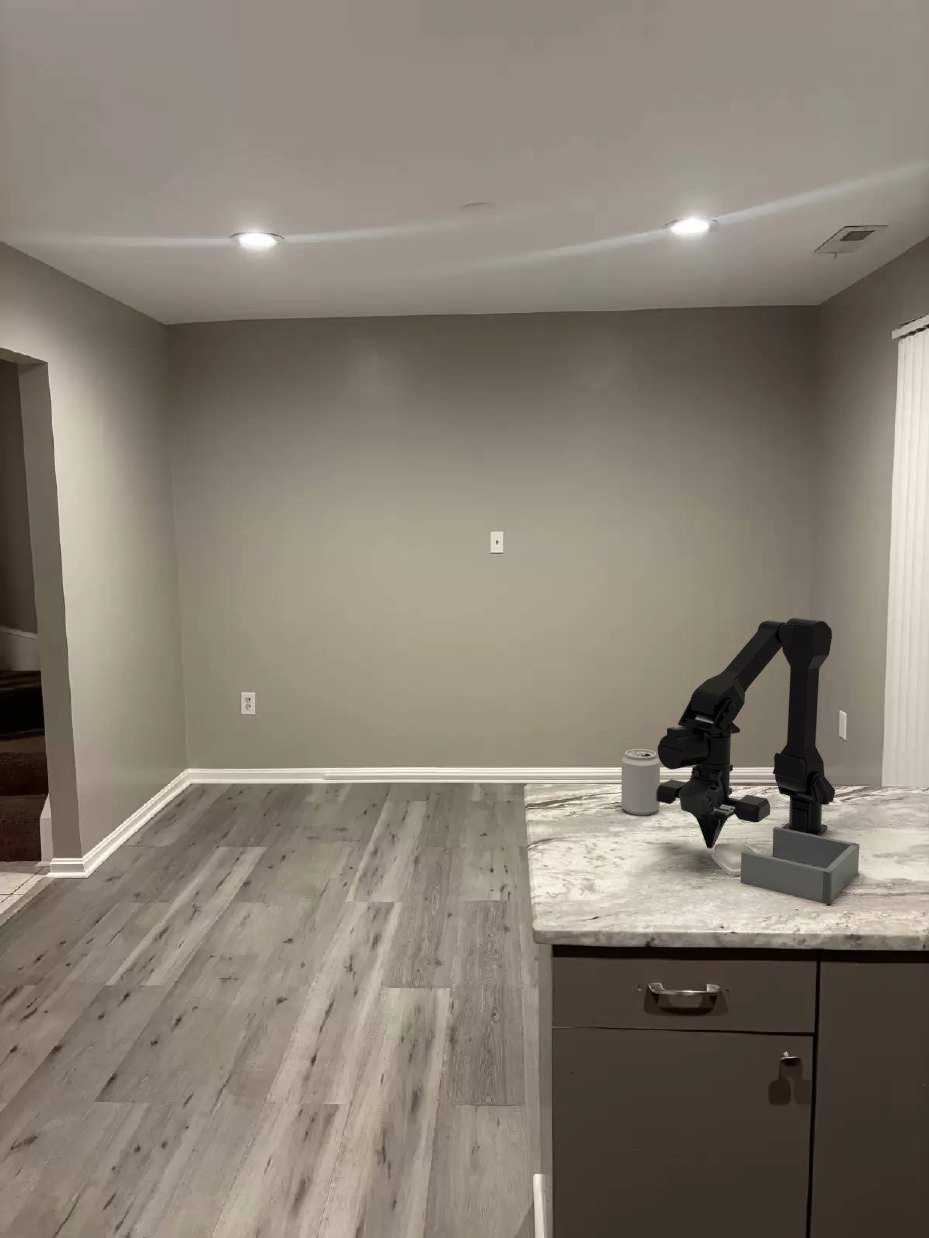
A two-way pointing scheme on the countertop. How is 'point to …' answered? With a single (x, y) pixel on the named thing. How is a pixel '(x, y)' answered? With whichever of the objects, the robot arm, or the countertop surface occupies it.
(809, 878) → the box
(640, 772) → the can
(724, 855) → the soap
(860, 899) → the countertop surface
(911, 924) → the countertop surface
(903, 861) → the countertop surface
